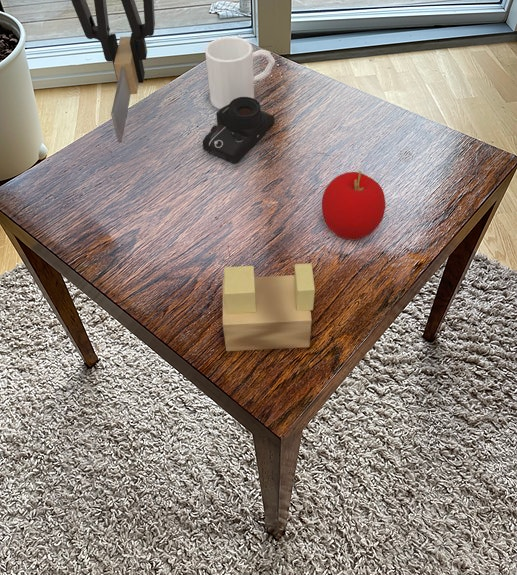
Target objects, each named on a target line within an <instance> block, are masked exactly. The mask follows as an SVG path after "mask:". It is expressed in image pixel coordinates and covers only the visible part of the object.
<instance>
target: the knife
mask: <svg viewBox="0 0 517 575" xmlns="http://www.w3.org/2000/svg"><path fill="white" fill-rule="evenodd" d="M130 38H131V35H129V36H120V37H119V40H118V49H117V53H116V57H115V62H114V65H113V67H114V66H115V69H114V72H115V71H116V73H115V76H116V75H117V77H116V80H117V79H118V81H117V84H116V89H115V93H114V98H113V103H112V107H111V111H110V117H111V121H112V124H113V128H114V132H115V136H116V139H117V140H116V141H117V143H118V144H119V143H121V144H122V143H123V138H124V132H125V127H126V122H127V117H128V112H129V105H130V100H131V95H137V94H138V90H139V85H140V83H138V78H137V73H136V69H135V64H134V60H133V55H132V51H131V46H130Z"/></svg>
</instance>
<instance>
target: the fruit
mask: <svg viewBox="0 0 517 575" xmlns="http://www.w3.org/2000/svg"><path fill="white" fill-rule="evenodd" d="M321 212H322V217H323V222H324V223H325V225H326V226H327V228H328V229H329V230H330V231H331V232H332V233H333V234H334V235H336V236H337V237H338V238H340V239H345V240H359V239H363V238H366V237H367V236H369V235H370V234H372V233H373V232H374V231H376V230H377V228H378V227H379V225H380V224H381V222H383V218H384V217H385V216H384V215H385V212H386V197H385V193H384V189H383V188H382V186H381V185H380V184H379V183H378V182H377V181H376V180H375V179H373V178H372V177H370V176H368V175H367V174H364V173H362V171H361V170H358V172H357V171H349V172H345V173H341V174H339V175H337V176H336V177H335V178H333V179H332V180H330V182H329V183H328V184H327V186H326V188H325V189H324V192H323V194H322V197H321Z"/></svg>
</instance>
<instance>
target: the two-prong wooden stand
mask: <svg viewBox="0 0 517 575" xmlns="http://www.w3.org/2000/svg"><path fill="white" fill-rule="evenodd" d="M254 280H255V300H256V312H253V313H234V314H227V311H226V303H225V294H224V278H222V330H223V336H224V344H225V351H226V352H238V351H239V352H240V351H241V352H242V351H260V350H261V351H262V350H278V349H297V348H298V349H299V348H310V346H311V331H312V322H313V321H312V320H313V319H312V312H311V311H312V310H303V311H297V310H296V300H295V289H294V274H289V275H287V274H286V275H269V276H268V275H267V276H254Z"/></svg>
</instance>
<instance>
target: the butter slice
mask: <svg viewBox="0 0 517 575" xmlns="http://www.w3.org/2000/svg"><path fill="white" fill-rule="evenodd" d="M293 275H294V289H295V300H296V310H297V311H303V310H310V311H313V310H314V306H315V305H314V303H315V293H316V287H315V280H314V272H313V264H312V263H295V264H294V274H293Z"/></svg>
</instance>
